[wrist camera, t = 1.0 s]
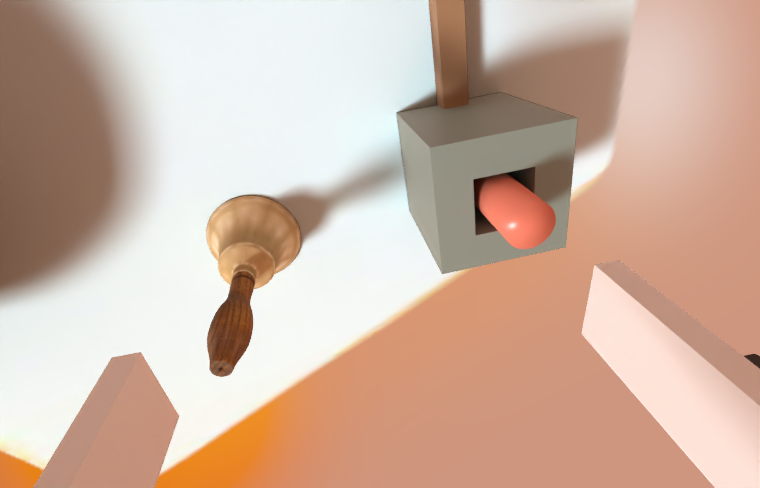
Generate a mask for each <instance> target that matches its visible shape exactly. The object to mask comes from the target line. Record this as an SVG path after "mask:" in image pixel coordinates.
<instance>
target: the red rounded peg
mask: <svg viewBox="0 0 760 488" xmlns="http://www.w3.org/2000/svg"><path fill="white" fill-rule="evenodd" d="M473 185H474V205H475V206H476V207H477V208H478V209H479V210H480V212H481V213H482V214H483V215H484V216H485V217H486V218H487V219H488V220H489V221H490V223H491V224H492V225H493V226H494V227H495V228H496V229H497V230H498V231H499V232H500V234H501V235H502V236H503V237H504V238H505V239H506V240H507V241H508V242H509V244H510V245H512V246H513V247H515V248H518V249H530V248H533V247H536V246H538V245H540V244H541V243H543V242H544V241H545V240H546V239H547V238H548V237H549V236H550V234H551V233H552V231H553V229H554V227H555V223H556V216H555V212H554V210H553V209H552V207H551V206H550V205H548V204H547V203H546V202H544V201H543V200H542V199H540V198H539V197H538V196H536V195H535V194H534V193H532V192H531V191H530V190H528V189H527V188H526V187H524V186H523V185H522V184H520V183H519V182H518V181H516V180H515V179H514V178H512V177H511V176H510V175H508V174H507V173H502V174H497V175H492V176H487V177H483V178H478V179H473Z"/></svg>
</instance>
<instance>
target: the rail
mask: <svg viewBox="0 0 760 488" xmlns="http://www.w3.org/2000/svg"><path fill="white" fill-rule="evenodd" d="M429 9H430V21H431V33H432V46H433V58H434V70H435V82H436V94H437V105H438V106H440V107H442V108H443V109H447V108H452V107H457V106H462V105H467V104H469V97H468V74H467V51H466V28H465V5H464V0H429Z"/></svg>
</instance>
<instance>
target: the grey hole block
mask: <svg viewBox="0 0 760 488" xmlns="http://www.w3.org/2000/svg"><path fill="white" fill-rule="evenodd" d="M396 115H397V122H398V129H399V137H400V144H401V152H402V159H403V167H404V174H405V181H406V189H407V196H408V204H409V211H410V213H411V215H412V217H413V218H414V220H415V222H416V224H417V226H418V228H419V230H420V232H421V234H422V236H423V238H424V240H425V242H426V244H427V246H428V248H429V249H430V251H431V253H432V255H433V257H434V259H435V261H436V263H437V265H438V267H439V269H440V271H441V273H442V274H445V273H450V272H454V271H459V270H463V269H468V268H473V267H477V266H482V265H486V264H491V263H496V262H500V261H505V260H509V259H514V258H519V257H523V256H528V255H532V254H537V253H542V252H546V251H551V250H555V249H560V248H564V247H566V239H567V227H568V217H569V207H570V196H571V185H572V174H573V163H574V152H575V142H576V131H577V120H578V118H576V117H573V116H570V115H567V114H564V113H561V112H558V111H555V110H552V109H549V108H546V107H544V106H541V105H538V104H535V103H532V102H529V101H526V100H523V99H520V98H517V97H514V96H511V95H508V94H505V93H502V92H500V93H495V94H490V95H485V96H480V97H475V98H469V104H467V105H462V106H457V107H452V108H447V109H443V108H442V107H440V106H438V105H434V106H429V107H424V108H419V109H414V110H408V111H403V112H398V113H396ZM502 173H507V174H508V175H510V176H511V177H512V178H514V179H515V180H516V181H518V182H519V183H520V184H522V185H523V186H524V187H526V188H527V189H528V190H530V191H531V192H532V193H534V194H535V195H536V196H538V197H539V198H540V199H542V200H543V201H544V202H546V203H547V204H548V205H550V206H551V207H552V209H553V210H554V212H555V216H556V223H555V227H554V229H553V231H552V233H551V234H550V236H549V237H548V238H547V239H546V240H545V241H544V242H543V243H541V244H540V245H538V246H536V247H533V248H530V249H518V248H515V247H513V246H512V245H510V244H509V242H508V241H507V240H506V239H505V238H504V237H503V236H502V235H501V234H500V232H499V231H498V230H497V229H496V228H495V227H494V226H493V225H492V224H491V223H490V221H489V220H488V219H487V218H486V217H485V216H484V215H483V214H482V213H481V212H480V210H479V209H478V208H477V207H476V206H475V205H474V185H473V179H478V178H483V177H487V176H492V175H497V174H502Z"/></svg>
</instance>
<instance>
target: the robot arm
mask: <svg viewBox="0 0 760 488" xmlns="http://www.w3.org/2000/svg"><path fill="white" fill-rule="evenodd" d="M582 335H583V336H584V337H585V338H586V339H587V340H588V342H589V343H590V344H591V345H592V346H593V347H594V349H595V350H596V351H597V352H598V353H599V354H600V356H601V357H602V358H603V359H604V360H605V361H606V362H607V364H608V365H609V366H610V367H611V368H612V369H613V371H614V372H615V373H616V374H617V375H618V376H619V377H620V379H621V380H622V381H623V382H624V383H625V384H626V386H627V387H628V388H629V389H630V390H631V391H632V392H633V394H634V395H635V396H636V397H637V398H638V399H639V400H640V402H641V403H642V404H643V405H644V406H645V408H646V409H647V410H648V411H649V412H650V413H651V414H652V416H653V417H654V418H655V419H656V420H657V421H658V422H659V423H660V425H661V426H662V427H663V428H664V429H665V431H666V432H667V433H668V434H669V435H670V436H671V438H672V439H673V440H674V441H675V442H676V443H677V444H678V446H679V447H680V448H681V449H682V450H683V451H684V453H685V454H686V455H687V456H688V457H689V458H690V459H691V461H692V462H693V463H694V464H695V465H696V466H697V467H698V469H699V470H700V471H701V472H702V473H703V474H704V476H705V477H706V478H707V479H708V480H709V481H710V482H711V484H712V485H713V486H714V487H715V488H760V356H758V355H756V354H751V355H746V356H743V355H741V354H740V353H739V352H737V351H736V350H735V349H734V348H732V347H731V346H730V345H728V344H727V343H726V342H724V341H723V340H722V339H721V338H719V337H718V336H717V335H715V334H714V333H713V332H711V331H710V330H709V329H707V328H706V327H705V326H703V325H702V324H701V323H700V322H698V321H697V320H696V319H695V318H693V317H692V316H691V315H689V314H688V313H687V312H685V311H684V310H683V309H681V308H680V307H679V306H678V305H676V304H675V303H674V302H673V301H671V300H670V299H669V298H667V297H666V296H665V295H664V294H662V293H661V292H659V291H658V290H657V289H656V288H654V287H653V286H652V285H651V284H649V283H648V282H647V281H645V280H644V279H643V278H641V277H640V276H639V275H638V274H636V273H635V272H634V271H632V270H631V269H630V268H629V267H627V266H626V265H625V264H623V263H622V262H620V261H619V260H618V261H612V262H607V263H602V264H597V265H595V266H594V271H593V276H592V282H591V287H590V292H589V298H588V303H587V308H586V314H585V319H584V324H583V329H582ZM178 418H179V415H178V413H177V412H176V410H175V409H174V407H173V405H172V404H171V402H170V400H169V399H168V397H167V395H166V394H165V392H164V390H163V389H162V387H161V385H160V384H159V382H158V380H157V379H156V377H155V375H154V374H153V372H152V370H151V369H150V367H149V365H148V364H147V362H146V360H145V359H144V357H143V355H142V354H141V352H139V353H134V354H129V355H124V356H118V357H113V358H111V360H110V362H109V363H108V365H107V367H106V368H105V370H104V372H103V373H102V375H101V376H100V378H99V380H98V381H97V383H96V385H95V386H94V388H93V390H92V391H91V393H90V395H89V396H88V398H87V400H86V401H85V403H84V405H83V406H82V408H81V410H80V411H79V413H78V414H77V416H76V418H75V419H74V421H73V423H72V424H71V426H70V428H69V429H68V431H67V433H66V434H65V436H64V438H63V439H62V441H61V443H60V444H59V446H58V447H57V449H56V451H55V452H54V454H53V456H52V457H51V459H50V461H49V462H48V464H47V466H46V467H45V469H44V471H43V472H42V474H41V476H40V477H39V479H38V481H37V482H36V484H35V486H34V487H33V488H155V485H156V482H157V479H158V476H159V473H160V470H161V467H162V464H163V462H164V459H165V456H166V453H167V450H168V447H169V444H170V441H171V438H172V435H173V432H174V429H175V427H176V424H177V421H178Z"/></svg>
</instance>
